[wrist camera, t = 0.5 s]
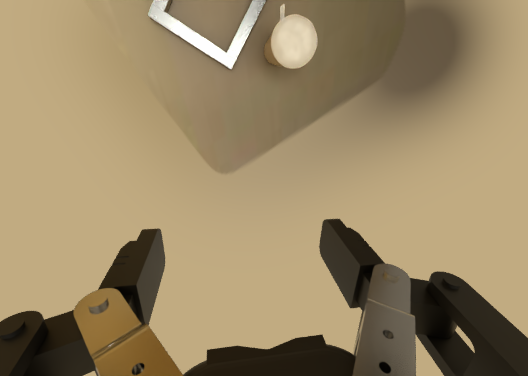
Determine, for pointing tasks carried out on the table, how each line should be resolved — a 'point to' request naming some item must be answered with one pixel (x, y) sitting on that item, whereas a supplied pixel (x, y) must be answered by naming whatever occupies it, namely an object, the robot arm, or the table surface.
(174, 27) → the grey square frame
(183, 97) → the table surface
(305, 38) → the milkshake
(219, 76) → the table surface
